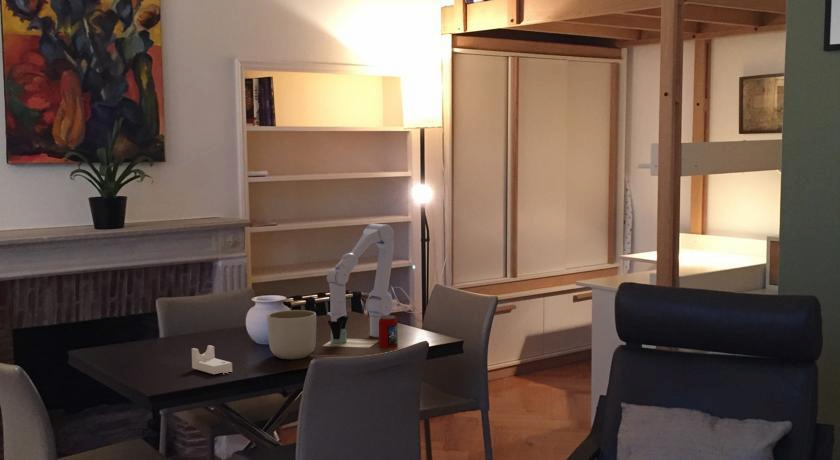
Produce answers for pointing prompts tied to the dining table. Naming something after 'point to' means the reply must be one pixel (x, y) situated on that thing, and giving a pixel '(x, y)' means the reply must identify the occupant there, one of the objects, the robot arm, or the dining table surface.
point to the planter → (292, 333)
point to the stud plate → (354, 343)
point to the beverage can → (388, 332)
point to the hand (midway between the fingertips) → (338, 337)
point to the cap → (342, 337)
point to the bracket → (209, 362)
